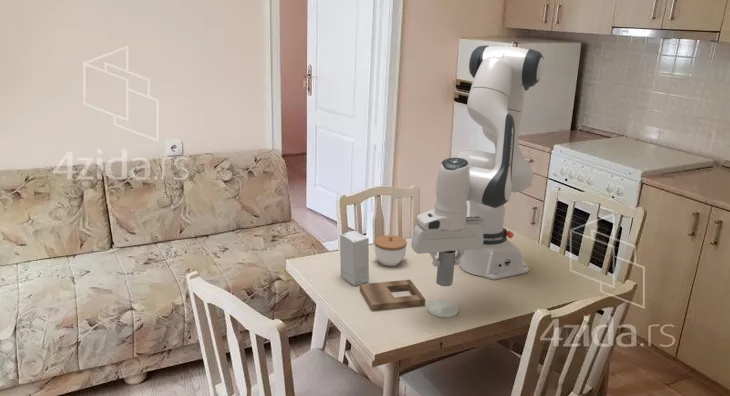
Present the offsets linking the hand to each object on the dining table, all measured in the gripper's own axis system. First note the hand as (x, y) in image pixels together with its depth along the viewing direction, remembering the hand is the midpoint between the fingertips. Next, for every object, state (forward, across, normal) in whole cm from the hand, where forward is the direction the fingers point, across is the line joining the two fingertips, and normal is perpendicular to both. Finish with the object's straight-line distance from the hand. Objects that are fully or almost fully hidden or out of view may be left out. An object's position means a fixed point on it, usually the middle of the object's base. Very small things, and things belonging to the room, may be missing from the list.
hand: (445, 264), depth 166 cm
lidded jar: (+14, +5, -34) cm, 37 cm away
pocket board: (+14, +12, -10) cm, 21 cm away
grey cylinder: (+6, 0, 0) cm, 6 cm away
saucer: (+14, 0, 0) cm, 14 cm away
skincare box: (+14, +20, -24) cm, 34 cm away
